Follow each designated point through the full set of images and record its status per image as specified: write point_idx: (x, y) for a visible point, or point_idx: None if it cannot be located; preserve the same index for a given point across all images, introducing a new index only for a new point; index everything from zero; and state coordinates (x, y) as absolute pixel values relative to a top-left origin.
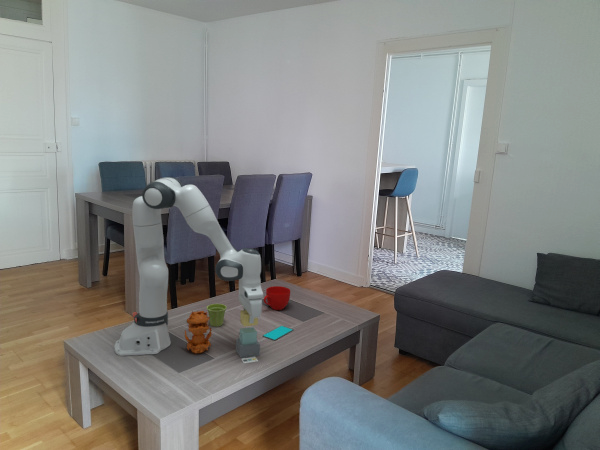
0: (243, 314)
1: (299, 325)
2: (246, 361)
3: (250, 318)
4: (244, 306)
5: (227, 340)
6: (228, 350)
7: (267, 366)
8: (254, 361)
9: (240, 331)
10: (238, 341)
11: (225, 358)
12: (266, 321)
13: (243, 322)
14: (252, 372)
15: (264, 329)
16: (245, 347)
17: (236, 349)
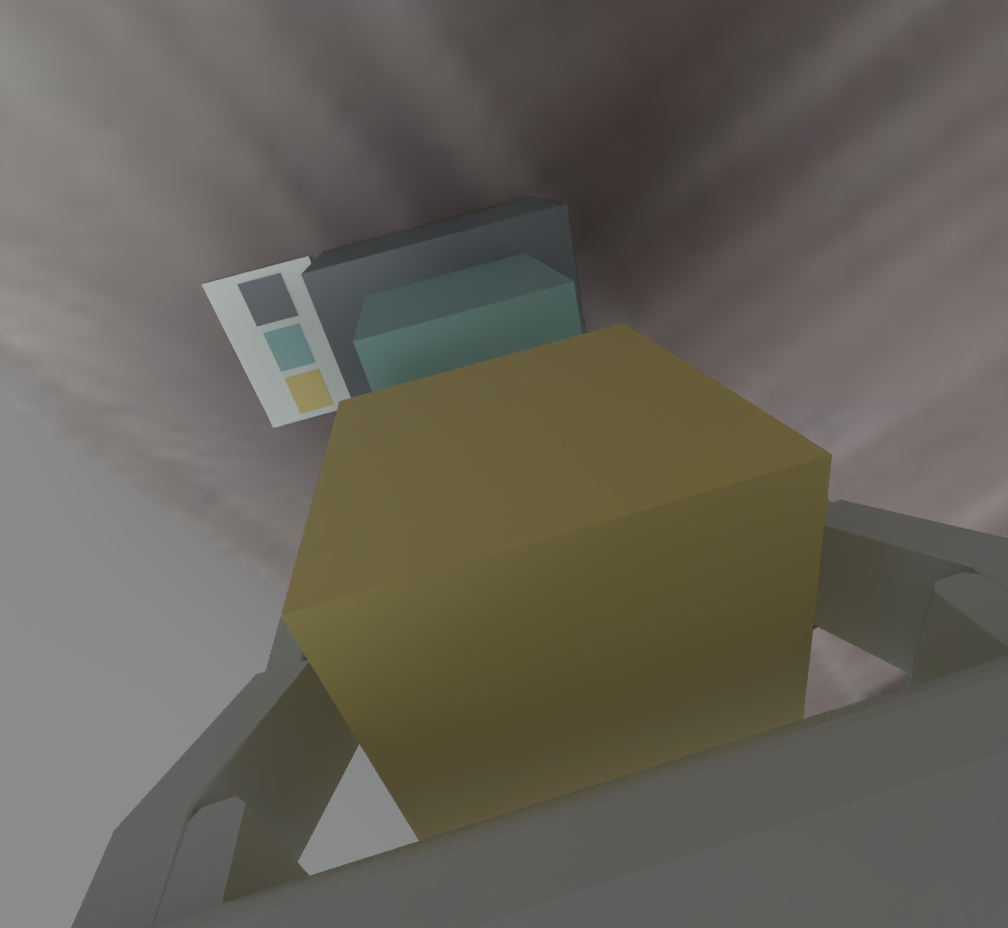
0: (361, 596)
1: (823, 680)
2: (250, 313)
3: (219, 735)
4: (811, 885)
5: (768, 97)
6: (518, 98)
7: (186, 501)
8: (260, 393)
9: (510, 291)
10: (476, 238)
11: (305, 40)
12: (982, 493)
13: (343, 440)
14: (19, 369)
15: (859, 478)
16: (325, 330)
17: (503, 205)
